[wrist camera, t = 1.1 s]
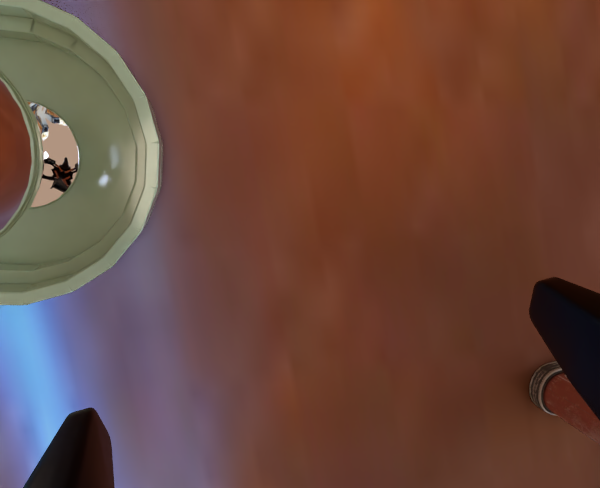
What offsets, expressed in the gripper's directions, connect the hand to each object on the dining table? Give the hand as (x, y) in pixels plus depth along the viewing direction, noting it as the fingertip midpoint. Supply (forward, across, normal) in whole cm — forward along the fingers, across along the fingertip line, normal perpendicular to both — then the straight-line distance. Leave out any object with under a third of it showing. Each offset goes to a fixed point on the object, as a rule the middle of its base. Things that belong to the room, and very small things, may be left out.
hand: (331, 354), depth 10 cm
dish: (+15, +8, 0) cm, 17 cm away
